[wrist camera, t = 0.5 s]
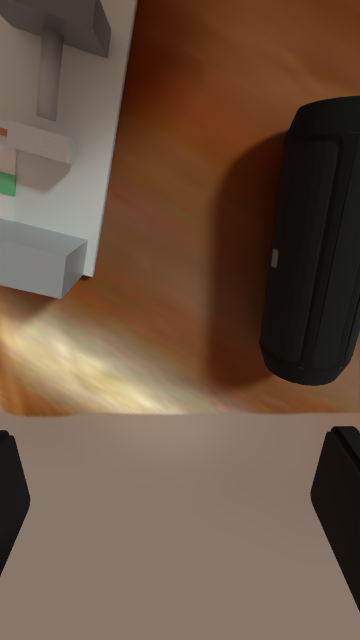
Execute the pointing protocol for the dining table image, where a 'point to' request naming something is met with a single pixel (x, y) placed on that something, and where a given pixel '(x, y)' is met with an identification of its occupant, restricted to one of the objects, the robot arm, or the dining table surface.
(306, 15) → the dining table surface
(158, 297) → the dining table surface
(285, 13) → the dining table surface
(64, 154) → the peak pointer
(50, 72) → the grey t-shaped bar
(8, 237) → the press frame
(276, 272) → the portable speaker
